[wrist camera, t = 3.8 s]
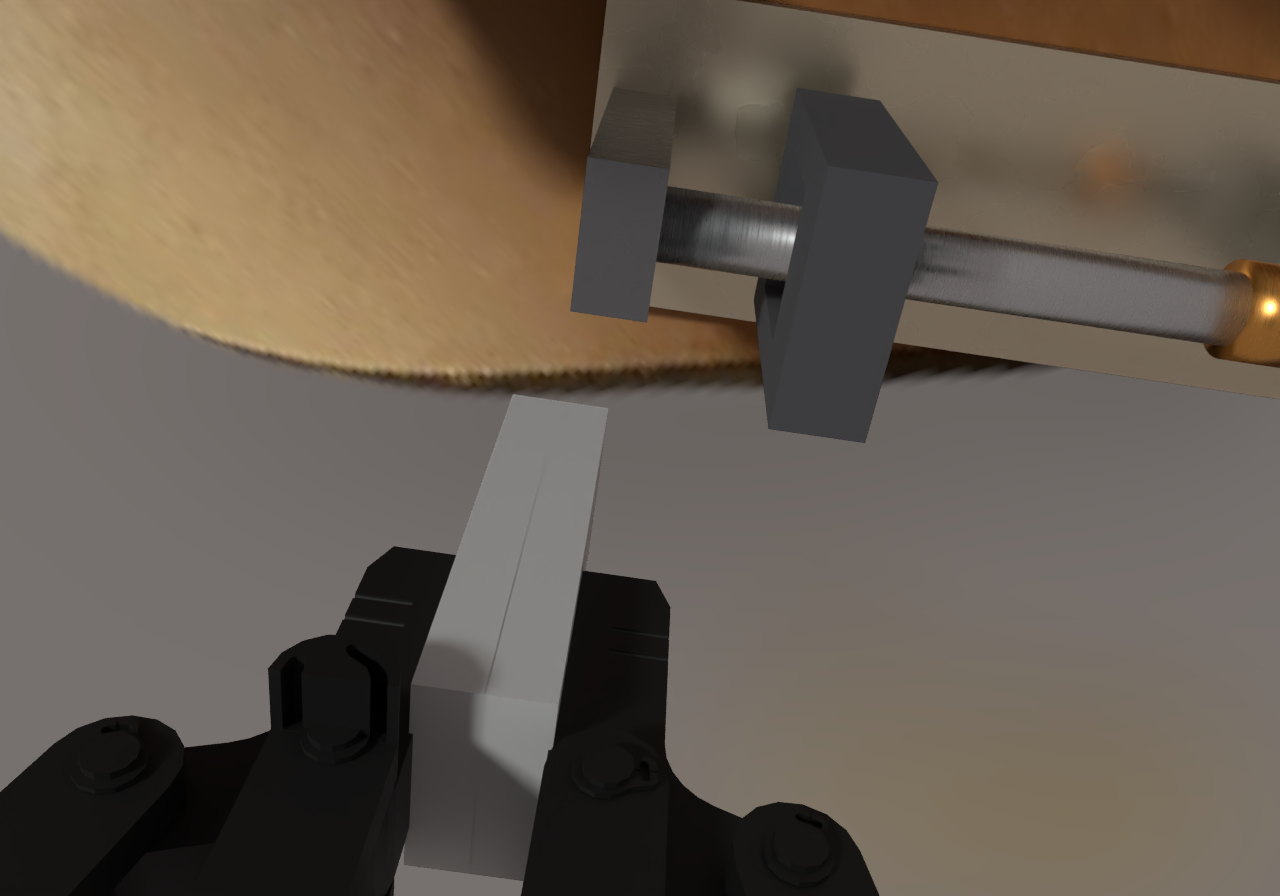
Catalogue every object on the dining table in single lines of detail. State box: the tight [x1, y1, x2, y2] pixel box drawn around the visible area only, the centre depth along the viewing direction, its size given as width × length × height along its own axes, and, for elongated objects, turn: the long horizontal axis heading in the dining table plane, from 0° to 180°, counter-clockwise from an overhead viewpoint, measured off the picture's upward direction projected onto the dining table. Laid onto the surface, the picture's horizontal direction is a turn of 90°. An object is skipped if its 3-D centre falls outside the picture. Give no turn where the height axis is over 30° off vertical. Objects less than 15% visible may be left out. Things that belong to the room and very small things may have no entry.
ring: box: [754, 88, 938, 443], centre depth 28 cm, size 2×6×8 cm, turn 172°
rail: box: [570, 0, 1280, 399], centre depth 30 cm, size 26×10×10 cm, turn 82°
